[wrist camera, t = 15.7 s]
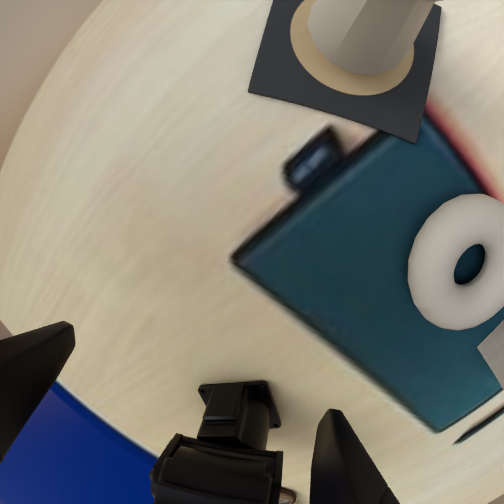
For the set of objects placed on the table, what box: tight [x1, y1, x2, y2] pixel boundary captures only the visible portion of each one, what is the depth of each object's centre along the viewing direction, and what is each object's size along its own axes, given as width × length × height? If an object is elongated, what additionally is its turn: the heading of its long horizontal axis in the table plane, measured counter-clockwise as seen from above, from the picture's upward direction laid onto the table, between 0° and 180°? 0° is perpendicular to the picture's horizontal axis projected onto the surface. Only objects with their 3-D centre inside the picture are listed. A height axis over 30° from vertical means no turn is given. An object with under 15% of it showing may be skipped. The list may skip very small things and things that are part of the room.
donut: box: [408, 194, 504, 330], centre depth 18 cm, size 10×4×10 cm
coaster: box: [248, 0, 441, 144], centre depth 15 cm, size 11×11×1 cm
